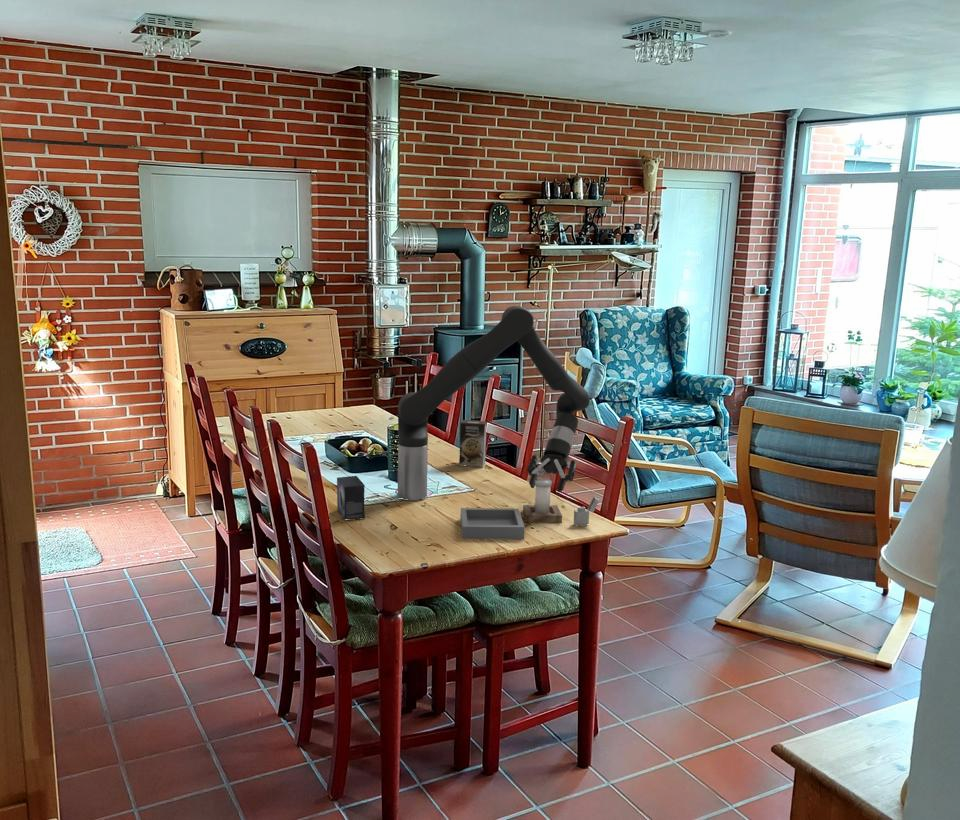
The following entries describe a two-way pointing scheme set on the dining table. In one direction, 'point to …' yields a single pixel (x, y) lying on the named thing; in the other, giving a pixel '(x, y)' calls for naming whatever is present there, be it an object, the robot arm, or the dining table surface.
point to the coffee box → (472, 443)
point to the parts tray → (491, 523)
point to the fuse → (542, 496)
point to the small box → (350, 497)
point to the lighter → (584, 513)
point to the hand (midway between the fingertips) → (545, 488)
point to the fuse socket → (532, 517)
